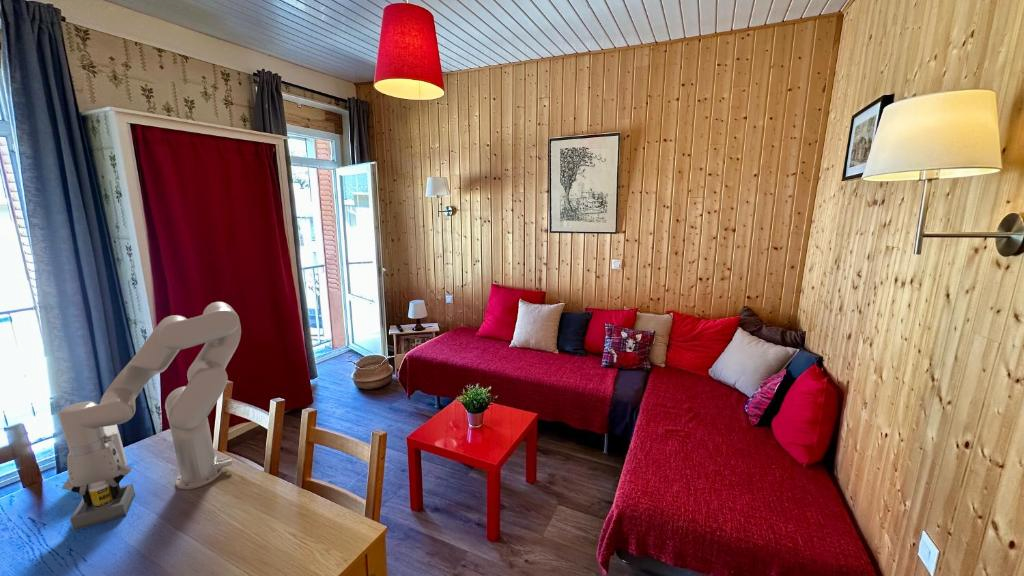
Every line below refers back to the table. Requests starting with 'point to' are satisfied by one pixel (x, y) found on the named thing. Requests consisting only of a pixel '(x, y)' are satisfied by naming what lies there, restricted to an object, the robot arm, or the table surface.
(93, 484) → the supplement bottle
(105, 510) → the bin
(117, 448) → the supplement box
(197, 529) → the table surface
